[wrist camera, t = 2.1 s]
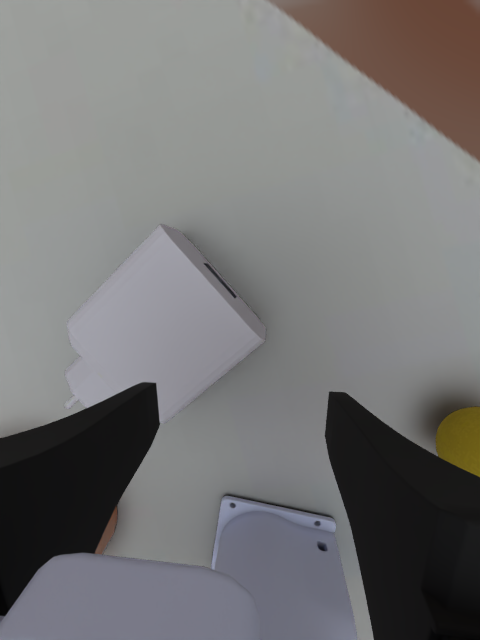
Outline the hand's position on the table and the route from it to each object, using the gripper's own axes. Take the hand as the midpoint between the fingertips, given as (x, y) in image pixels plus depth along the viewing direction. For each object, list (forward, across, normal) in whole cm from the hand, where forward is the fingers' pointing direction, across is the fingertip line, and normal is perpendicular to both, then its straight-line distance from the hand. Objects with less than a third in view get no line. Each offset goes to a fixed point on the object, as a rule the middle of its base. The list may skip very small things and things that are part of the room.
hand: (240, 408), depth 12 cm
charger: (+10, +8, +1) cm, 13 cm away
